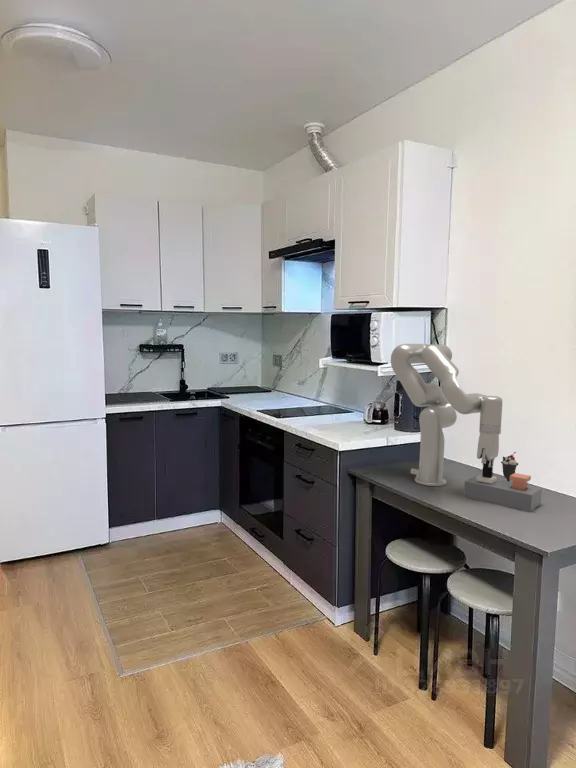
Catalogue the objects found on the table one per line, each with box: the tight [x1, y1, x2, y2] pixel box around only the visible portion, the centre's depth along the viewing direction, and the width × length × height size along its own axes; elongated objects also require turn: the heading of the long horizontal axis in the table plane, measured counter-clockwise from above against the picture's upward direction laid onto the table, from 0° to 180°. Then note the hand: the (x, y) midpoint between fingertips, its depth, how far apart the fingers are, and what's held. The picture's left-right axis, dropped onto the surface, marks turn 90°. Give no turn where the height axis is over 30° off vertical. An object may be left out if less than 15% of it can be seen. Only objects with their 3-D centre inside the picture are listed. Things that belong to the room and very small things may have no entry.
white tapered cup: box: [476, 474, 498, 484], centre depth 202 cm, size 6×6×8 cm
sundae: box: [500, 451, 519, 482], centre depth 215 cm, size 7×7×15 cm
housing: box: [463, 474, 543, 513], centre depth 198 cm, size 24×12×6 cm, turn 49°
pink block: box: [510, 472, 532, 491], centre depth 194 cm, size 6×6×8 cm
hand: (487, 476), depth 202 cm, fingers closed
